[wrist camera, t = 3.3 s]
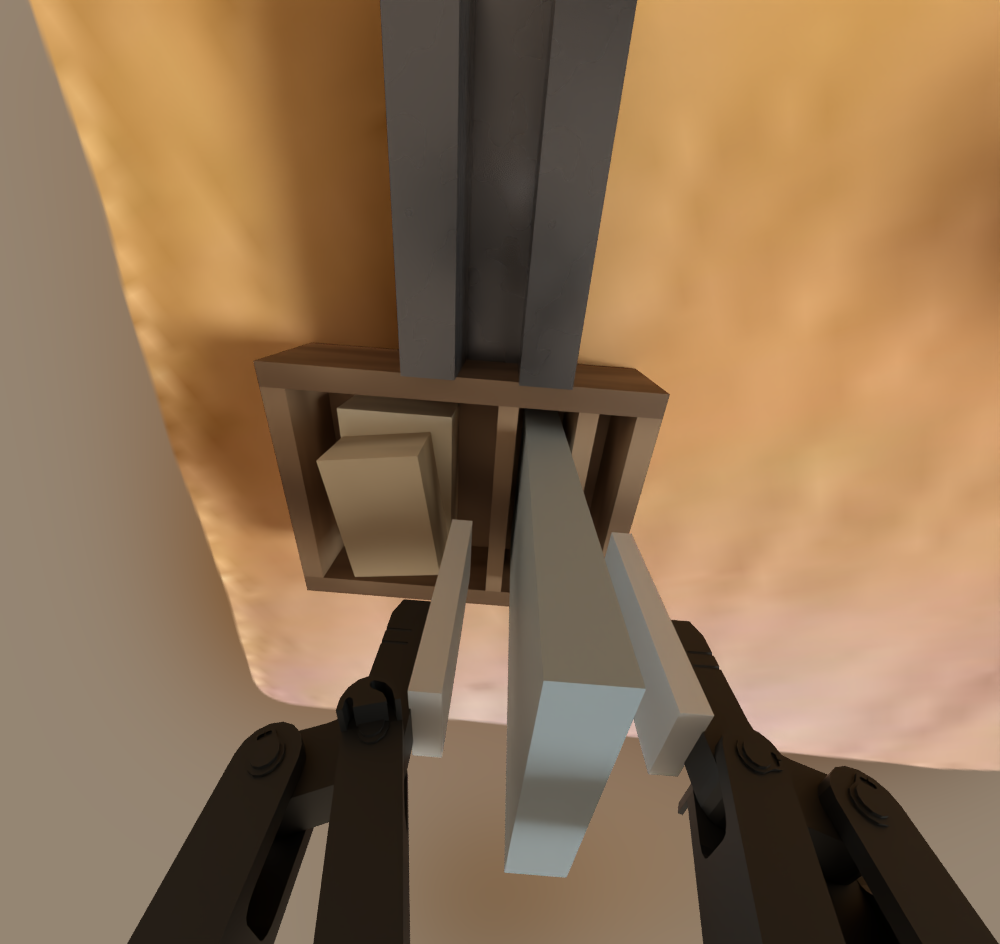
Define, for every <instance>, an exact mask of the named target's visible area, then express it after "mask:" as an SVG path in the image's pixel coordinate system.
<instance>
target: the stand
mask: <svg viewBox="0 0 1000 944" xmlns="http://www.w3.org/2000/svg"><path fill="white" fill-rule="evenodd" d="M636 4H637V0H380V9H381V27H382V45H383V64H384V82H385V100H386V118H387V136H388V155H389V173H390V191H391V209H392V228H393V246H394V264H395V282H396V301H397V319H398V337H399V355H400V374H401V376H405V377H418V378H430V379H443V380H455V379H456V377H457V375H458V374H459V372H460V370H461V369H462V367H463V365H464V364H465V362H466V360H480V361H492V362H504V363H517V364H518V374H519V386H529V387H542V388H554V389H567V390H573V385H574V379H575V372H576V366H577V360H578V354H579V348H580V342H581V336H582V330H583V324H584V318H585V312H586V306H587V300H588V294H589V288H590V282H591V276H592V270H593V264H594V258H595V252H596V246H597V240H598V234H599V228H600V222H601V215H602V209H603V203H604V197H605V191H606V185H607V179H608V173H609V167H610V161H611V155H612V149H613V143H614V137H615V131H616V125H617V119H618V113H619V107H620V101H621V95H622V89H623V83H624V77H625V71H626V64H627V58H628V52H629V46H630V40H631V34H632V28H633V22H634V16H635V10H636Z"/></svg>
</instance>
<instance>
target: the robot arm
mask: <svg viewBox="0 0 1000 944" xmlns="http://www.w3.org/2000/svg"><path fill="white" fill-rule="evenodd" d="M471 542H472V521H467V520H455V519H452V523H451V527H450V531H449V535H448V539H447V542H446V546H445V550H444V554H443V558H442V561H441V565H440V569H439V573H438V577H437V581H436V584H435V588H434V592H433V596H432V600H431V602H430V601H418V600H405V599H404V600H403V601H402V602H401V603H400V604H399V605H398V607H397V608H396V609H395V610H394V611H393V612H392V615H391V617H390V620H389V623H388V626H387V630H386V631H385V634H384V636H383V639H382V643H381V645H380V647H379V650H378V653H377V655H376V658H375V661H374V664H373V666H372V669H371V672H370V674H369V676H368V677H365V678H362V679H359V680H358V681H356V682H355V683H354V684H352V685H351V686H350V687H348V688H347V690H346V691H345V692H344V694H343V695H342V696H341V698H340V700H339V703H338V706H337V709H336V713H337V717H338V719H337V720H335V721H332V722H329V723H327V724H323V725H320V726H316V727H312V728H308V729H304V730H300V731H298V729H297V728H296V727H295V726H294V725H292V724H289V723H286V722H279V723H273V724H269V725H267V726H265V727H263V728H261V729H259V730H257V731H256V732H254V733H253V734H252V735H251V736H250V737H248V738H247V739H246V740H245V741H244V742H243V743H242V745H241V746H240V747H239V749H238V750H237V751H236V753H235V754H234V756H233V758H232V759H231V761H230V763H229V765H228V766H227V768H226V770H225V772H224V773H223V775H222V777H221V779H220V780H219V782H218V784H217V786H216V788H215V789H214V791H213V793H212V795H211V796H210V798H209V800H208V802H207V803H206V805H205V807H204V809H203V811H202V813H201V814H200V816H199V818H198V819H197V821H196V823H195V825H194V827H193V828H192V830H191V832H190V834H189V835H188V837H187V839H186V841H185V843H184V844H183V846H182V848H181V850H180V851H179V853H178V855H177V857H176V858H175V860H174V862H173V864H172V866H171V867H170V869H169V871H168V873H167V874H166V876H165V878H164V880H163V881H162V883H161V885H160V887H159V888H158V890H157V892H156V894H155V896H154V897H153V899H152V901H151V903H150V904H149V906H148V908H147V910H146V912H145V913H144V915H143V917H142V919H141V920H140V922H139V924H138V926H137V927H136V929H135V931H134V933H133V934H132V936H131V938H130V940H129V942H128V944H274V941H275V939H276V936H277V933H278V930H279V927H280V924H281V921H282V918H283V915H284V913H285V910H286V906H287V904H288V901H289V898H290V895H291V892H292V889H293V886H294V884H295V881H296V878H297V875H298V872H299V869H300V866H301V863H302V860H303V857H304V855H305V852H306V848H307V845H308V843H309V840H310V837H311V834H312V831H313V828H314V827H316V826H319V825H322V824H324V823H328V822H329V828H328V836H327V844H326V851H325V859H324V866H323V874H322V882H321V890H320V898H319V905H318V912H317V920H316V928H315V935H314V943H313V944H410V904H409V831H408V830H409V828H408V774H407V768H408V763H409V759H410V754H411V750H412V755H417V756H431V757H442V753H443V747H444V741H445V734H446V727H447V722H448V715H449V709H450V702H451V696H452V689H453V683H454V676H455V670H456V663H457V657H458V650H459V644H460V637H461V631H462V624H463V618H464V611H465V605H466V598H467V592H468V585H469V579H470V565H471ZM605 561H606V564H607V568H608V571H609V574H610V577H611V580H612V583H613V586H614V590H615V593H616V596H617V599H618V602H619V605H620V608H621V612H622V615H623V618H624V621H625V624H626V627H627V630H628V634H629V637H630V640H631V643H632V646H633V649H634V652H635V656H636V659H637V662H638V665H639V668H640V671H641V675H642V678H643V681H644V684H645V687H646V690H645V693H644V695H643V697H642V700H641V702H640V704H639V707H638V709H637V712H636V714H635V716H634V723H635V726H636V730H637V734H638V738H639V741H640V745H641V749H642V753H643V756H644V760H645V764H646V767H647V771H648V774H653V775H666V776H678V775H679V774H680V772H681V770H682V769H683V767H684V765H685V767H686V770H687V773H688V775H689V778H690V781H691V785H690V786H689V788H688V789H687V791H686V792H685V794H684V796H683V797H682V799H681V800H680V802H679V806H678V813H679V814H682V815H683V814H684V812H685V811H686V809H687V808H688V811H689V820H690V829H691V838H692V846H693V855H694V864H695V873H696V882H697V891H698V900H699V909H700V918H701V927H702V936H703V944H998V942H997V941H996V940H995V938H994V937H993V935H992V934H991V932H990V931H989V929H988V928H987V927H986V926H985V924H984V922H983V921H982V920H981V918H980V917H979V915H978V914H977V913H976V911H975V910H974V908H973V907H972V906H971V904H970V903H969V902H968V900H967V898H966V897H965V896H964V894H963V893H962V892H961V890H960V889H959V887H958V886H957V884H956V883H955V882H954V880H953V879H952V877H951V876H950V874H949V873H948V872H947V870H946V869H945V867H944V866H943V865H942V863H941V862H940V861H939V859H938V858H937V856H936V855H935V853H934V852H933V850H932V849H931V848H930V847H929V845H928V844H927V842H926V841H925V839H924V838H923V836H922V835H921V834H920V832H919V831H918V829H917V828H916V827H915V825H914V824H913V822H912V821H911V820H910V818H909V817H908V815H907V814H906V812H905V811H904V810H903V808H902V807H901V806H900V805H899V803H898V802H897V801H896V800H895V799H894V797H893V796H892V795H891V794H890V793H889V792H888V791H887V790H886V789H885V788H884V787H882V786H881V785H880V784H879V783H878V782H877V781H875V780H874V779H873V778H871V777H869V776H868V775H866V774H864V773H862V772H861V771H859V770H856V769H853V768H850V767H846V766H842V767H835V768H834V769H833V770H832V771H831V772H830V773H829V774H828V775H827V774H825V773H822V772H820V771H817V770H815V769H812V768H810V767H807V766H805V765H802V764H800V763H797V762H795V761H792V760H790V759H788V758H786V757H784V756H782V755H781V754H780V752H779V751H778V750H777V749H776V748H775V746H774V745H773V744H772V743H771V742H770V741H769V740H768V739H766V738H765V737H764V736H763V735H761V734H760V733H759V732H757V731H755V730H753V728H752V727H751V725H750V724H749V722H748V720H747V718H746V717H745V715H744V713H743V711H742V709H741V707H740V705H739V703H738V701H737V699H736V697H735V696H734V694H733V692H732V690H731V688H730V686H729V684H728V682H727V680H726V678H725V677H724V675H723V673H722V671H721V670H720V669H719V665H718V663H717V661H716V659H715V657H714V656H712V652H711V650H710V648H709V646H708V644H707V642H706V640H705V638H704V637H703V635H702V634H701V633H700V632H699V631H698V630H697V629H696V628H695V627H694V626H693V625H692V624H691V623H690V622H689V621H677V620H671V619H670V617H669V615H668V613H667V611H666V608H665V606H664V604H663V602H662V600H661V597H660V595H659V593H658V591H657V589H656V586H655V584H654V582H653V580H652V578H651V575H650V573H649V571H648V569H647V567H646V564H645V562H644V560H643V558H642V556H641V553H640V551H639V549H638V547H637V545H636V542H635V540H634V538H633V536H632V534H628V533H616V532H612V533H611V537H610V540H609V544H608V548H607V552H606V556H605Z"/></svg>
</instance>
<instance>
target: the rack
mask: <svg viewBox="0 0 1000 944" xmlns="http://www.w3.org/2000/svg"><path fill="white" fill-rule="evenodd" d="M253 362H254V366H255V370H256V374H257V379H258V383H259V387H260V391H261V396H262V400H263V404H264V408H265V412H266V417H267V421H268V425H269V429H270V434H271V438H272V442H273V446H274V450H275V455H276V459H277V463H278V467H279V472H280V476H281V480H282V484H283V489H284V493H285V497H286V501H287V505H288V510H289V514H290V518H291V522H292V527H293V531H294V535H295V539H296V543H297V548H298V552H299V556H300V560H301V565H302V569H303V573H304V577H305V582H306V586H307V590H312V591H324V592H337V593H349V594H362V595H374V596H386V597H399V598H411V599H424V600H432V596H433V592H434V588H435V584H436V581H437V577H438V575H412V576H372V577H355V576H354V573H353V570H352V567H351V564H350V561H349V558H348V555H347V552H346V549H345V546H344V543H343V540H342V537H341V534H340V531H339V528H338V525H337V522H336V519H335V516H334V513H333V510H332V507H331V504H330V501H329V498H328V495H327V492H326V489H325V486H324V483H323V480H322V477H321V474H320V471H319V468H318V465H317V462H316V461H317V460H318V459H319V458H320V457H321V456H322V455H323V454H324V453H325V452H326V451H328V450H329V449H330V448H331V447H332V446H333V445H334V444H335V443H336V442H337V441H339V440H340V439H341V435H340V428H339V421H338V414H337V408H338V407H339V406H340V405H342V404H343V403H345V402H346V401H347V400H349V399H350V398H352V397H353V396H354V395H368V396H381V397H393V398H405V399H418V400H430V401H443V402H455V403H460V412H459V460H458V509H457V520H467V521H472V542H471V565H470V579H469V585H468V592H467V598H466V603H473V604H486V605H498V606H509V601H510V548H511V529H512V519H513V510H514V500H515V491H516V481H517V472H518V462H519V453H520V443H521V434H522V425H523V415H524V408H529V409H542V410H554V411H558V414H559V417H560V420H561V423H562V426H563V429H564V432H565V436H566V439H567V442H568V445H569V448H570V451H571V454H572V458H573V461H574V464H575V467H576V470H577V473H578V476H579V480H580V483H581V486H582V489H583V492H584V495H585V498H586V502H587V505H588V508H589V511H590V514H591V517H592V520H593V524H594V527H595V530H596V533H597V536H598V539H599V542H600V546H601V549H602V552H603V555H604V558H605V556H606V552H607V548H608V544H609V540H610V537H611V533H612V532H616V533H628V534H629V532H630V529H631V525H632V522H633V518H634V515H635V512H636V508H637V505H638V501H639V498H640V494H641V491H642V488H643V484H644V481H645V477H646V474H647V470H648V467H649V464H650V460H651V457H652V453H653V450H654V447H655V443H656V440H657V436H658V433H659V429H660V426H661V423H662V419H663V416H664V412H665V409H666V405H667V402H668V399H669V395H670V394H668V393H667V392H666V391H664V390H663V389H662V388H660V387H659V386H658V385H656V384H655V383H654V382H652V381H651V380H650V379H648V378H647V377H646V376H644V375H643V374H642V373H640V372H639V371H638V370H636V369H630V368H618V367H605V366H593V365H581V364H577V366H576V372H575V379H574V385H573V390H567V389H554V388H542V387H529V386H519V374H518V364H517V363H504V362H492V361H480V360H466V362H465V364H464V365H463V367H462V369H461V370H460V372H459V374H458V375H457V377H456V379H455V380H443V379H430V378H418V377H405V376H401V374H400V355H399V350H395V349H382V348H370V347H357V346H345V345H333V344H320V343H309V344H306V345H302V346H299V347H296V348H293V349H290V350H286V351H283V352H280V353H277V354H274V355H270V356H267V357H264V358H261V359H258V360H255V361H253Z"/></svg>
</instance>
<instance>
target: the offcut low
mask: <svg viewBox="0 0 1000 944" xmlns="http://www.w3.org/2000/svg"><path fill="white" fill-rule="evenodd" d="M459 412H460V403H455V402H443V401H430V400H418V399H405V398H393V397H381V396H368V395H354V396H353V397H352V398H350V399H349V400H347V401H346V402H345V403H343V404H342V405H340V406H339V407H338V408H337V414H338V421H339V428H340V435H341V438H342V437H343V436H362V435H381V434H401V433H421V432H431V437H432V443H433V449H434V455H435V461H436V467H437V473H438V479H439V485H440V491H441V497H442V503H443V509H444V515H445V521H446V527H447V533H448V535H449V531H450V527H451V523H452V519H455V520H457V509H458V460H459Z"/></svg>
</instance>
